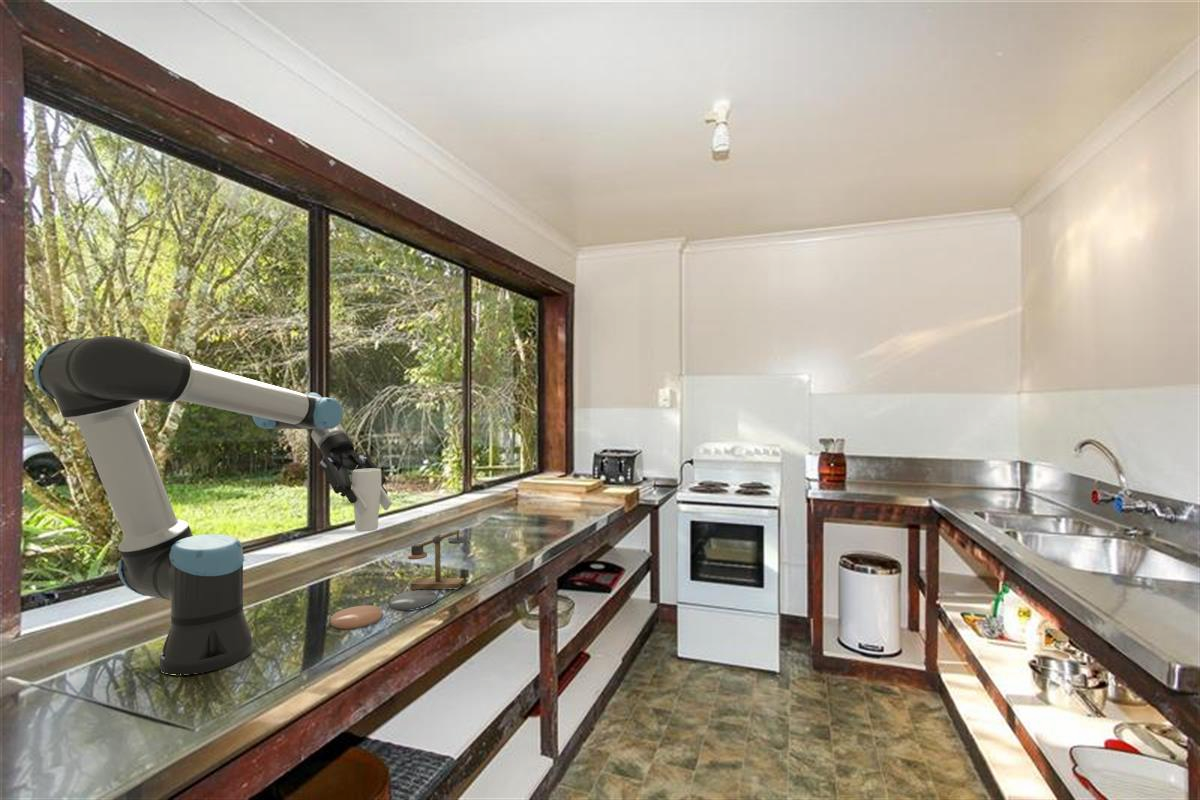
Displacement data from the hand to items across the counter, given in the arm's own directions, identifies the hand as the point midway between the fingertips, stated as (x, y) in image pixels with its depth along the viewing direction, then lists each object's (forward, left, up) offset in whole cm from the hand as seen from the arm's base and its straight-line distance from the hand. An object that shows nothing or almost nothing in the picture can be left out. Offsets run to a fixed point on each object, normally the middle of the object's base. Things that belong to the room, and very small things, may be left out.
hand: (376, 508), depth 135 cm
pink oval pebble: (-1, -8, -24) cm, 25 cm away
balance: (+10, +15, -24) cm, 30 cm away
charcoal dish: (+8, +3, -24) cm, 26 cm away
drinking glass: (-3, +1, -6) cm, 7 cm away
